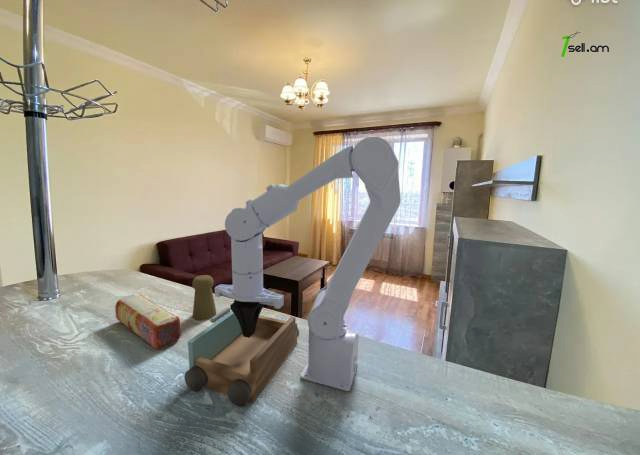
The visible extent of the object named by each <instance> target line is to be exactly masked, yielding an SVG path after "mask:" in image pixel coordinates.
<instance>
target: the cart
mask: <svg viewBox="0 0 640 455" xmlns="http://www.w3.org/2000/svg"><path fill="white" fill-rule="evenodd" d="M299 336H300V330H299V327H298V323H297V322H296V316H290V317H289V318H288V319H287V320H282V319H279V318H273V317H270V316H269V317H268V316H264V315H259V317H258V320H257V324H256V328H255V333H254V334H253V335H252V336H251V337H250V338H248V337H244V336H243V333H241V334H240V335H238V336H237V337H236V338H235V339H234V340H233V341H231V342H230V343H229V344H228V345H227V346H226V347H224V348H223V349H222V350H221V351H220V352H219V353H217V354H216V355H215V356H214V357H213V358H212V359H210V360H209V359H205V358H202V357H199V358H197V359H196V360H195V366H193V367H192V368H189V369H188V370H187V371H185V373H184V377H183V378H184V382H185V384H186V386H187V387H188V388H189V390H191V391H193V392H195V393H198V392H200V391H202V389H206V390H209V391H212V392H215V393H218V394H221V395H224V396H227V397H228V399H229V401H230V403H232V404H233V405H234V406H236V407H239V408H243V407H245V406H247V404H250V405H253V404H254V403H255V402H256V400H257V399H258V397H259V396H260V395H261V393H262V392H263V391H264V389H265V388H266V387H267V385H268V383H269V382H270V381H271V379H272V378H273V377H274V376H275V374H276V373H277V371H278V370H279V368H280V367H281V366H282V365H283V363H285V360H287V358H288V357H289V355H290V354H291V353H292V351H293V350H294V348H295V347H296V346H297V345H298V338H299Z"/></svg>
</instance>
